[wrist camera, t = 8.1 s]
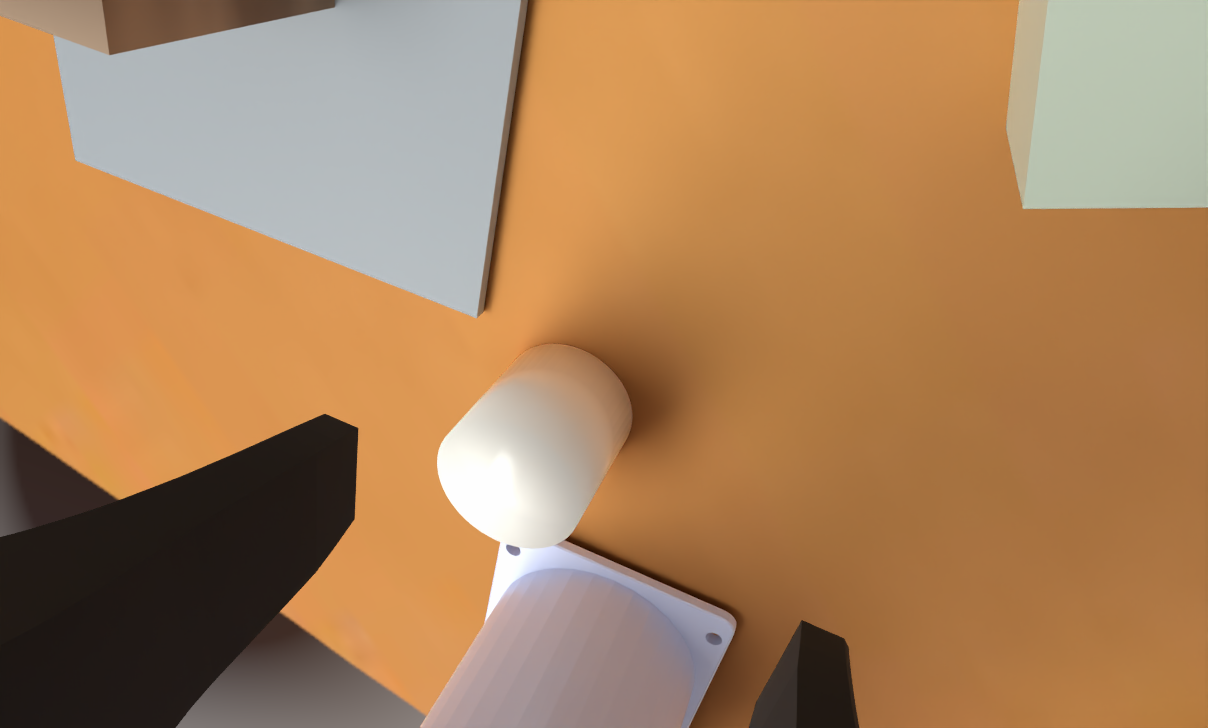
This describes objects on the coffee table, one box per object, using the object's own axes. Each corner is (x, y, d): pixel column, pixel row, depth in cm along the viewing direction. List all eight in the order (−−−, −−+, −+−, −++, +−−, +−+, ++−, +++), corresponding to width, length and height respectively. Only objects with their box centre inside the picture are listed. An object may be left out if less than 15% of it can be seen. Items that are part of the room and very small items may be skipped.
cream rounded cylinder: (616, 479, 24) (565, 571, 21) (497, 429, 25) (431, 510, 22) (647, 374, 22) (595, 459, 19) (516, 323, 23) (444, 396, 20)
